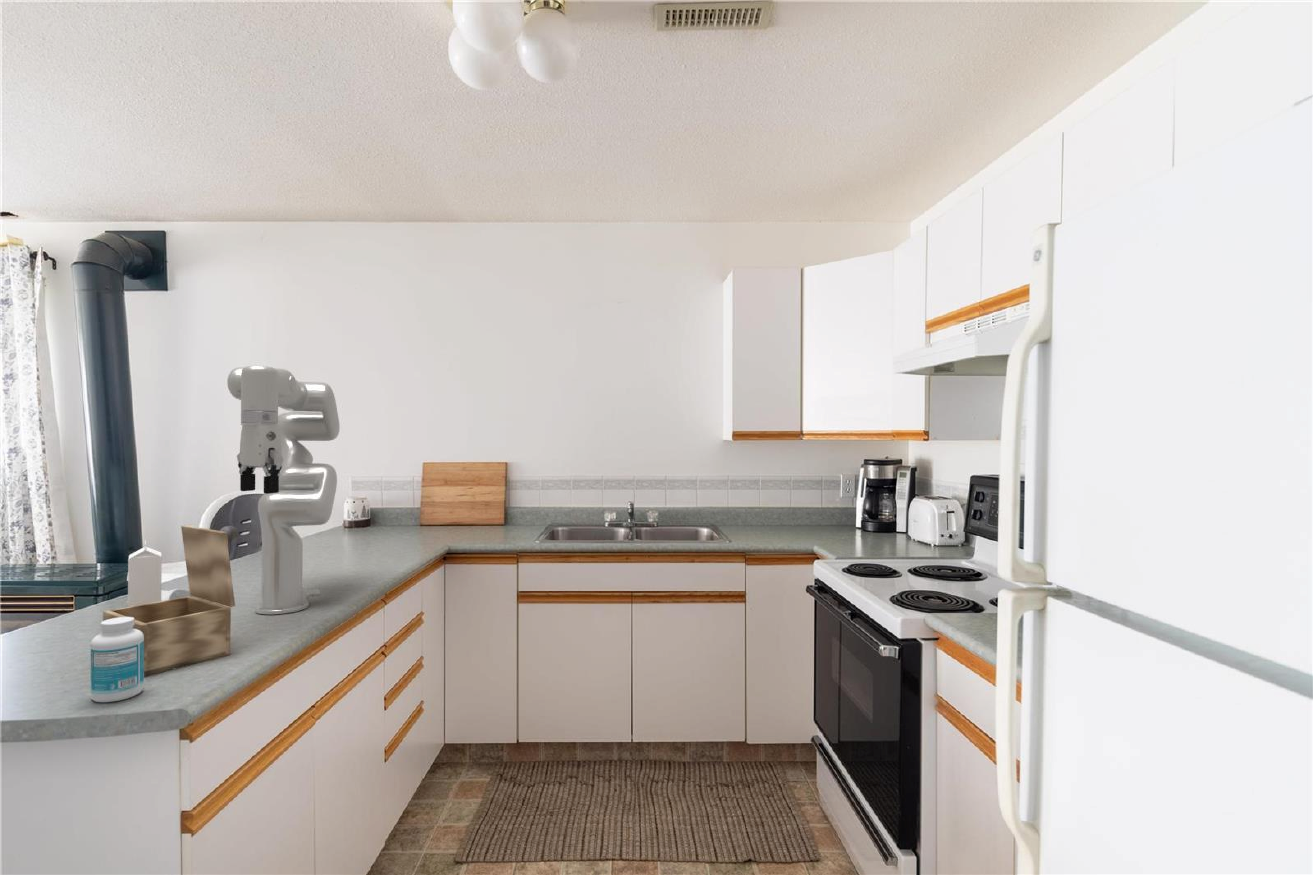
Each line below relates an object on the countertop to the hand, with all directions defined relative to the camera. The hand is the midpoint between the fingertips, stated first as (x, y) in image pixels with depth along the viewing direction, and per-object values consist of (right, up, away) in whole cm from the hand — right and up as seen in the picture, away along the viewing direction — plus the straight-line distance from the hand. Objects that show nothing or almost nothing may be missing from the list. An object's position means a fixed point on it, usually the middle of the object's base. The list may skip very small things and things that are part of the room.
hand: (259, 491), depth 157 cm
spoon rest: (-33, -33, +18) cm, 50 cm away
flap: (-5, -15, -12) cm, 20 cm away
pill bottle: (-3, -33, -38) cm, 51 cm away
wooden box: (-9, -33, -18) cm, 38 cm away
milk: (-23, -33, -5) cm, 41 cm away
